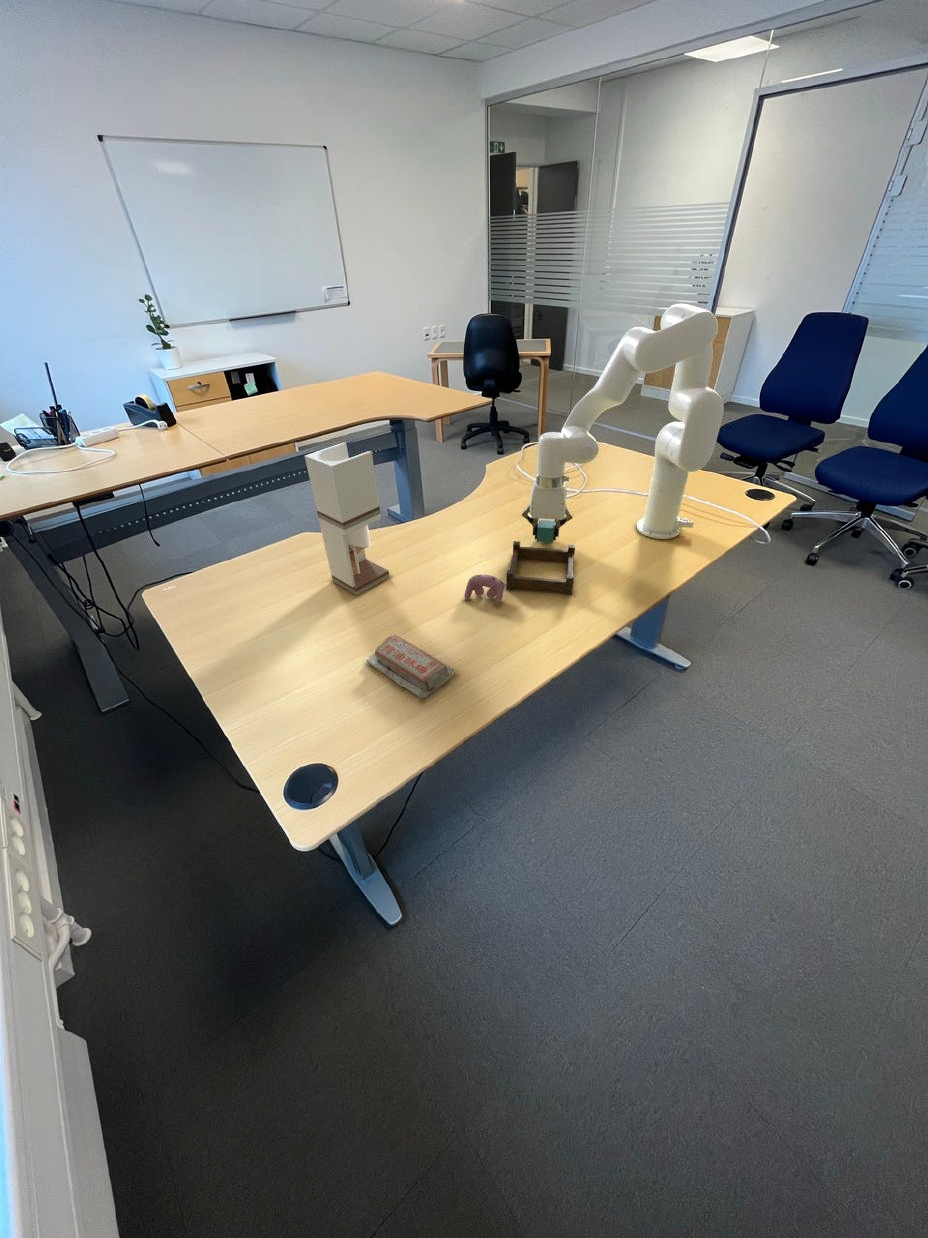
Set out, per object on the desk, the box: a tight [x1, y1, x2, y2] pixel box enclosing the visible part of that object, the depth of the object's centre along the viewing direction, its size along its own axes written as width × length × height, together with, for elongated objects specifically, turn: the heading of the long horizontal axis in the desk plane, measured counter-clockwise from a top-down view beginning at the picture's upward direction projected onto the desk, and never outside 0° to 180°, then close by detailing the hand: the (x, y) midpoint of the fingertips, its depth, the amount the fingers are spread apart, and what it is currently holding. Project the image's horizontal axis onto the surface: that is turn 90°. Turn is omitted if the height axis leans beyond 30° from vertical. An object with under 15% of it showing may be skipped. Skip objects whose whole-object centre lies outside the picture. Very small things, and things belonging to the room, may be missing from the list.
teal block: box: [536, 519, 555, 544], centre depth 153 cm, size 5×5×5 cm
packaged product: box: [366, 634, 455, 700], centre depth 112 cm, size 18×5×10 cm
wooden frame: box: [505, 540, 576, 596], centre depth 140 cm, size 17×17×5 cm
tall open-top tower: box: [304, 441, 390, 596], centre depth 132 cm, size 11×11×35 cm
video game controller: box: [464, 574, 506, 607], centre depth 132 cm, size 10×5×7 cm, turn 71°
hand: (545, 537), depth 154 cm, fingers closed on teal block, 4 cm apart
